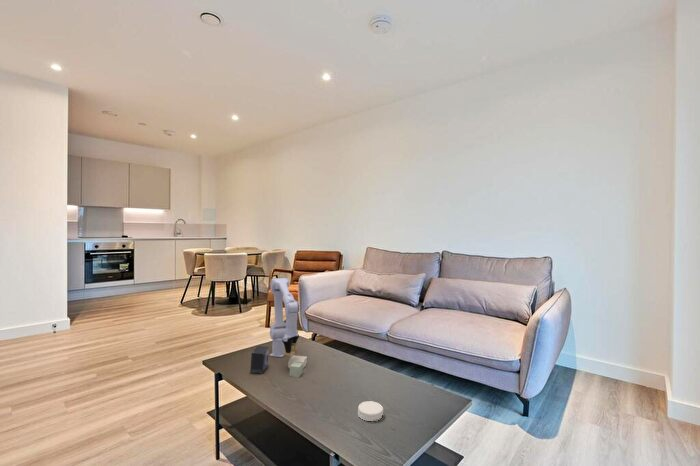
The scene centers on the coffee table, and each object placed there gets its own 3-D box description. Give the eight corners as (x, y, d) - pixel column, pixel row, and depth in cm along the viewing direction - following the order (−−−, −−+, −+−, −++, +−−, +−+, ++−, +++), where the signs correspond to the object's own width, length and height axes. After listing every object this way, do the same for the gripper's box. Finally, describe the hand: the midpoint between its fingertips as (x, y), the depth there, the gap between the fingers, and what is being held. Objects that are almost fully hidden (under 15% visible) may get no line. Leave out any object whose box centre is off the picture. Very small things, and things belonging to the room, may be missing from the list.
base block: (292, 362, 180) (292, 355, 180) (306, 363, 179) (307, 356, 179) (288, 368, 172) (288, 360, 172) (302, 369, 171) (303, 362, 171)
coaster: (367, 406, 137) (368, 398, 137) (387, 415, 131) (388, 406, 131) (352, 416, 129) (353, 407, 129) (373, 426, 123) (373, 416, 123)
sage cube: (293, 372, 168) (293, 362, 168) (302, 373, 167) (303, 363, 167) (289, 376, 163) (289, 366, 163) (299, 377, 162) (299, 367, 162)
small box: (262, 374, 164) (263, 353, 164) (249, 373, 164) (250, 352, 164) (268, 365, 174) (269, 346, 174) (256, 365, 174) (257, 345, 174)
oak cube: (287, 351, 176) (288, 342, 176) (296, 352, 174) (296, 343, 174) (283, 355, 171) (284, 345, 171) (292, 356, 170) (293, 346, 170)
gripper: (292, 329, 165) (291, 356, 165) (303, 322, 179) (302, 347, 179) (279, 328, 166) (278, 355, 166) (291, 321, 180) (290, 345, 180)
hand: (290, 351), depth 173 cm, fingers closed on oak cube, 5 cm apart
